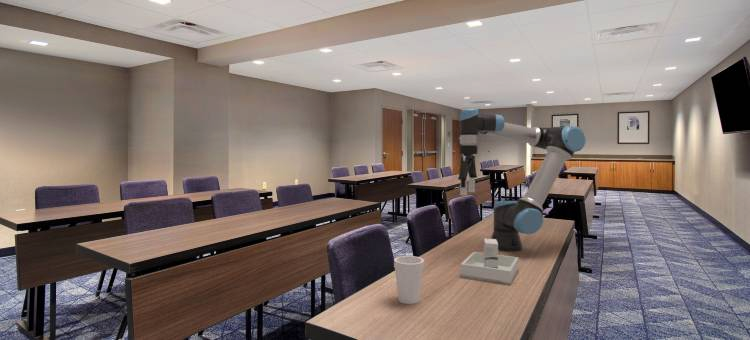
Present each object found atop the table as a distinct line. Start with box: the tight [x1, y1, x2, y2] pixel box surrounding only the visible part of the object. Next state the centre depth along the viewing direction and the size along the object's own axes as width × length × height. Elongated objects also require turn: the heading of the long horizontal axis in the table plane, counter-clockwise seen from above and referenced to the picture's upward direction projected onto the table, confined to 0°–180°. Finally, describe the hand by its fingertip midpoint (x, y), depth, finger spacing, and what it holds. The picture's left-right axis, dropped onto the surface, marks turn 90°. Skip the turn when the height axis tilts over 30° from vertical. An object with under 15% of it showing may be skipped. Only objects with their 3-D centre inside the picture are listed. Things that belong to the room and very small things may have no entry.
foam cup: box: [393, 255, 425, 305], centre depth 125 cm, size 10×9×13 cm
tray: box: [459, 251, 519, 286], centre depth 152 cm, size 20×18×5 cm
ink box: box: [483, 238, 499, 269], centre depth 152 cm, size 9×5×12 cm, turn 168°
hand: (467, 193), depth 171 cm, fingers open, 13 cm apart
